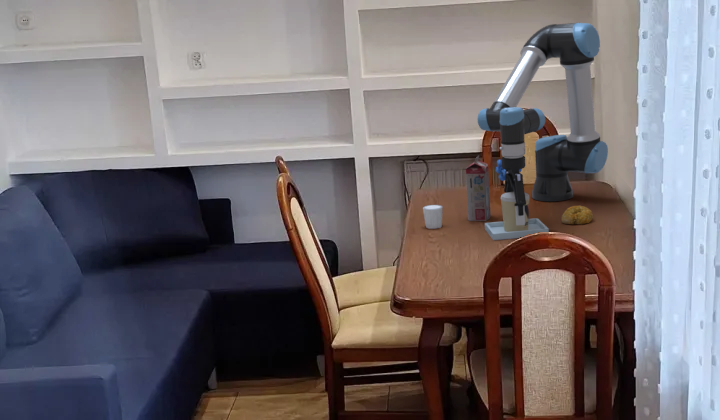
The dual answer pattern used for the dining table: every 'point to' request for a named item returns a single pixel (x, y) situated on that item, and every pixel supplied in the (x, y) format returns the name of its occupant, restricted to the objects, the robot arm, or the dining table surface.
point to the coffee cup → (513, 212)
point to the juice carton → (478, 191)
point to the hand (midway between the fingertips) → (515, 219)
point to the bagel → (577, 215)
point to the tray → (499, 233)
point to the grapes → (501, 170)
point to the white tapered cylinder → (433, 216)
